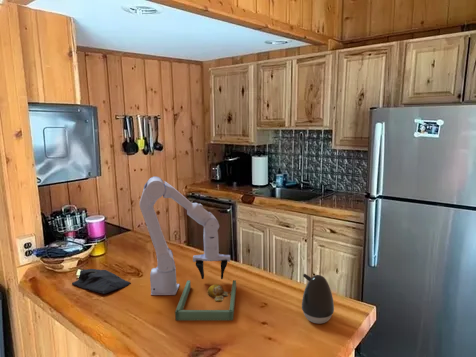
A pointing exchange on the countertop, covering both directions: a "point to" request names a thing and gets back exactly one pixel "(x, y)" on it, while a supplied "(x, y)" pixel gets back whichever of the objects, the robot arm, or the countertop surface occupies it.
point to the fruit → (217, 292)
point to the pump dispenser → (317, 300)
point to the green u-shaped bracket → (204, 314)
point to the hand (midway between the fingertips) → (212, 277)
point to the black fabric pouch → (100, 281)
